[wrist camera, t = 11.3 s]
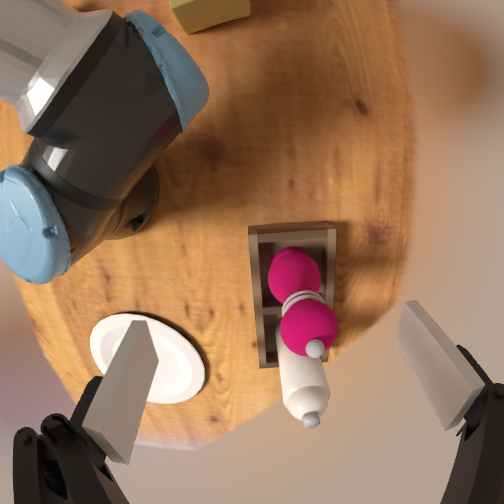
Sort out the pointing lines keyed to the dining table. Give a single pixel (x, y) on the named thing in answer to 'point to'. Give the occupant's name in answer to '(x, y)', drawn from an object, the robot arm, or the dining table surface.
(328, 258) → the wooden compartment tray
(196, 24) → the cheese
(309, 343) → the pepper mill
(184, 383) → the plate
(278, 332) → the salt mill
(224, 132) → the dining table surface
